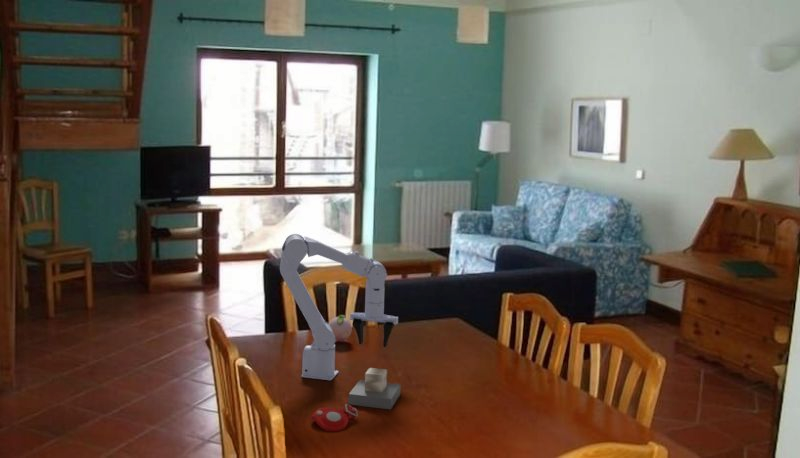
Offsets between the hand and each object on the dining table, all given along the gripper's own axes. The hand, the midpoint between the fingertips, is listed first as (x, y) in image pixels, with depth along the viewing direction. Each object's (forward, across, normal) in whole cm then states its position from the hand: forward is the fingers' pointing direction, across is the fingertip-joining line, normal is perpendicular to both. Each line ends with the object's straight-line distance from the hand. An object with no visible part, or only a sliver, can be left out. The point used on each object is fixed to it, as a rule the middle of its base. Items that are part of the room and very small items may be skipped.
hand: (373, 344), depth 244 cm
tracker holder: (+10, +1, -39) cm, 41 cm away
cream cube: (+6, +6, -20) cm, 21 cm away
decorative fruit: (+10, -19, +28) cm, 35 cm away
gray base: (+9, +6, -20) cm, 23 cm away
